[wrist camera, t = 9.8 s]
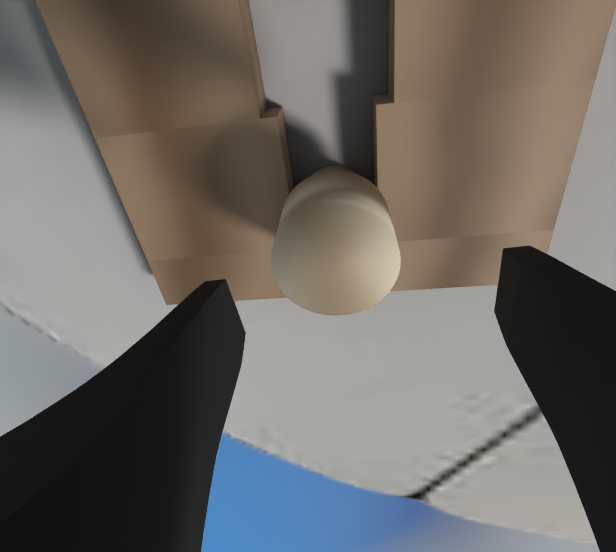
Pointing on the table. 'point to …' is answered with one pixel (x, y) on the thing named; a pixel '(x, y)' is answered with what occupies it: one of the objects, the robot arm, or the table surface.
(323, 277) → the birch peg
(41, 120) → the table surface
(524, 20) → the keyhole plate
